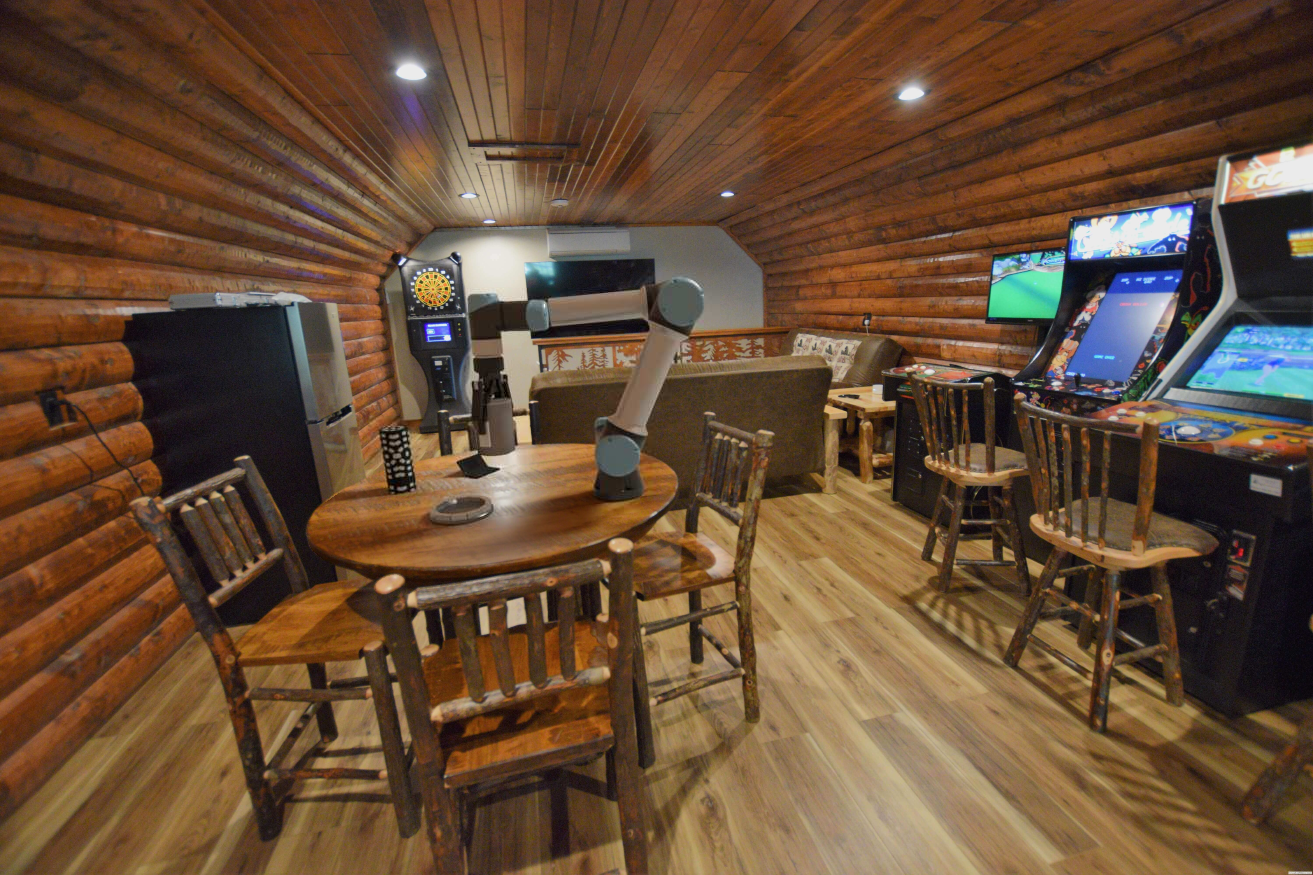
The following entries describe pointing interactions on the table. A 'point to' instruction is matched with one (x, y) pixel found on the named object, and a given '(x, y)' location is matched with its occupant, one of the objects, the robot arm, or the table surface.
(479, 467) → the handheld gaming console
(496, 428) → the pillar candle
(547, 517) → the table surface
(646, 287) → the robot arm
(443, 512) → the ring plate
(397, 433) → the white-spotted black cylinder
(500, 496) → the table surface
